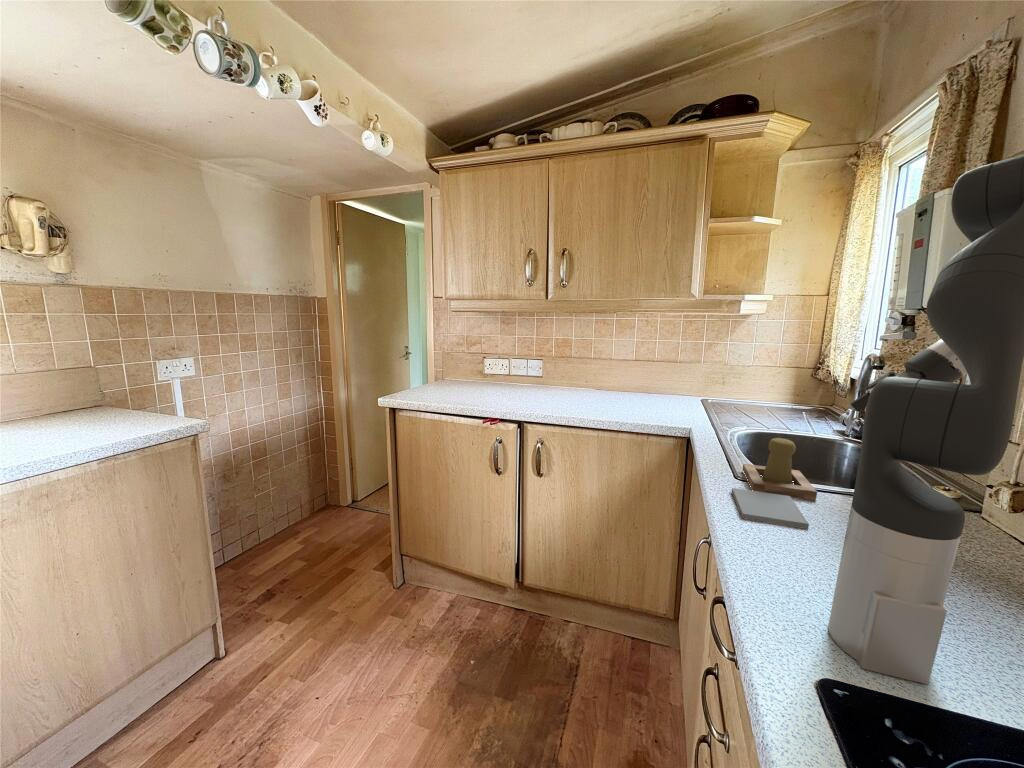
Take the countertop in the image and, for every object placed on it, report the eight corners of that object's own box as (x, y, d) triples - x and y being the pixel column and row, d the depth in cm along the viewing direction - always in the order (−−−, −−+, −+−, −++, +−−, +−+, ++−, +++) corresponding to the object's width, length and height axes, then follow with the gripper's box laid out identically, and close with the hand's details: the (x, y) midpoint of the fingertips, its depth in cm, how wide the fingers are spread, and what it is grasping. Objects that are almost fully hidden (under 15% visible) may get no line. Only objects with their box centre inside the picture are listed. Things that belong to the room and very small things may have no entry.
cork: (763, 477, 100) (769, 433, 98) (793, 484, 96) (800, 439, 94) (758, 485, 95) (765, 440, 93) (790, 493, 92) (797, 446, 90)
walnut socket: (815, 500, 88) (817, 491, 88) (752, 491, 92) (753, 483, 92) (797, 478, 100) (799, 470, 99) (742, 471, 103) (743, 463, 103)
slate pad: (808, 528, 77) (808, 523, 77) (742, 518, 81) (742, 513, 80) (788, 500, 88) (789, 495, 88) (731, 492, 92) (732, 487, 92)
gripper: (909, 343, 87) (835, 392, 93) (954, 352, 73) (864, 408, 80) (936, 369, 86) (860, 417, 92) (986, 383, 73) (893, 437, 79)
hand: (862, 413), depth 86 cm, fingers open, 8 cm apart
